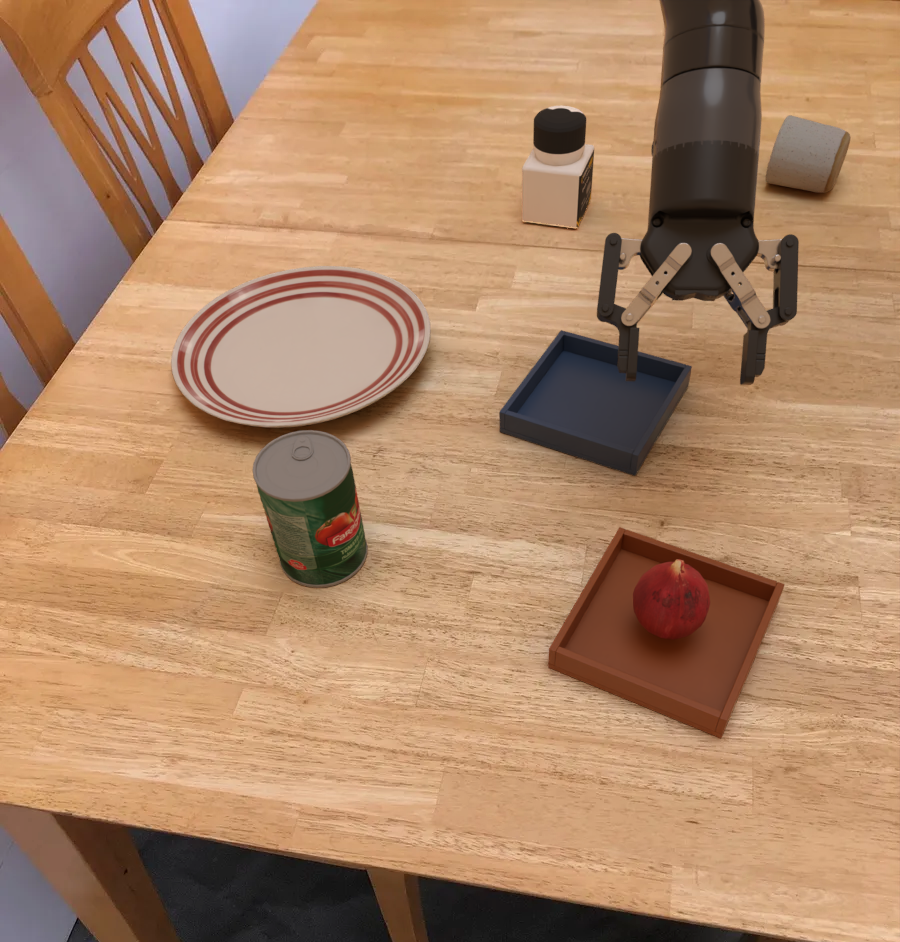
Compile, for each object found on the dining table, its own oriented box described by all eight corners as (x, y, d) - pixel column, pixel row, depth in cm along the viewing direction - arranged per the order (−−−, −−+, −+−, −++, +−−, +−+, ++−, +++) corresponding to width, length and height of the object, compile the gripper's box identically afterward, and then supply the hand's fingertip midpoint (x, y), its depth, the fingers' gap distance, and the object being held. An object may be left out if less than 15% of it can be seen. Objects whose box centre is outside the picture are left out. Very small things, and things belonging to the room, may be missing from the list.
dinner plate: (127, 416, 95) (116, 390, 93) (256, 271, 111) (250, 245, 108) (368, 475, 88) (363, 449, 85) (470, 310, 103) (468, 284, 101)
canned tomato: (368, 583, 80) (351, 493, 71) (278, 592, 80) (249, 503, 71) (366, 516, 85) (350, 425, 76) (281, 525, 85) (254, 434, 76)
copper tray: (777, 603, 76) (785, 583, 74) (721, 738, 69) (727, 721, 67) (616, 546, 81) (619, 526, 79) (547, 667, 73) (548, 648, 71)
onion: (714, 647, 73) (733, 584, 67) (646, 666, 72) (659, 604, 66) (682, 593, 77) (697, 527, 70) (617, 610, 76) (626, 546, 69)
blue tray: (688, 386, 93) (692, 365, 91) (635, 476, 86) (638, 455, 84) (560, 350, 98) (560, 329, 96) (499, 432, 91) (499, 411, 89)
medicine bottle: (577, 231, 112) (583, 130, 103) (521, 223, 114) (521, 124, 104) (591, 200, 116) (598, 101, 107) (536, 194, 118) (538, 96, 108)
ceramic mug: (827, 206, 112) (845, 142, 106) (760, 193, 115) (774, 130, 109) (845, 166, 118) (864, 103, 112) (781, 155, 121) (795, 93, 115)
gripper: (607, 136, 64) (593, 374, 66) (820, 134, 63) (799, 379, 65) (604, 172, 72) (591, 385, 74) (794, 171, 70) (776, 390, 72)
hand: (688, 382), depth 69 cm, fingers open, 8 cm apart
